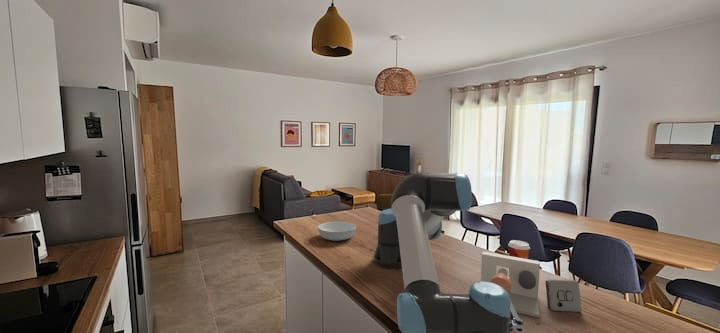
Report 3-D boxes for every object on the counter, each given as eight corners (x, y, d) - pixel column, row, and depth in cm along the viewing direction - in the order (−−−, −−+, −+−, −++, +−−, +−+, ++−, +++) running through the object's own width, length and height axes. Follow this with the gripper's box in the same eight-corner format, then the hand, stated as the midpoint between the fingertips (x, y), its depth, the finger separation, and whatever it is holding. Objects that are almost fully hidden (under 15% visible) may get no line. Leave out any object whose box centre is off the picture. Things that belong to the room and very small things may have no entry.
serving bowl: (363, 236, 167) (363, 224, 166) (341, 247, 149) (341, 234, 149) (333, 230, 178) (333, 219, 177) (309, 240, 160) (309, 227, 160)
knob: (489, 294, 96) (490, 276, 95) (493, 278, 107) (493, 262, 106) (510, 299, 93) (511, 281, 92) (511, 282, 104) (512, 266, 104)
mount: (476, 301, 100) (478, 264, 99) (481, 284, 112) (483, 250, 111) (538, 317, 91) (541, 276, 90) (537, 297, 103) (539, 260, 102)
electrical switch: (551, 311, 95) (551, 282, 95) (542, 304, 100) (542, 276, 100) (582, 312, 94) (582, 283, 94) (571, 305, 99) (571, 277, 99)
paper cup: (520, 283, 113) (522, 247, 112) (502, 275, 120) (504, 241, 119) (532, 279, 117) (534, 244, 116) (514, 271, 124) (516, 238, 122)
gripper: (461, 341, 73) (475, 297, 93) (522, 360, 66) (522, 309, 87) (462, 311, 72) (476, 274, 93) (524, 328, 66) (524, 284, 87)
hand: (499, 291), depth 90 cm, fingers closed
